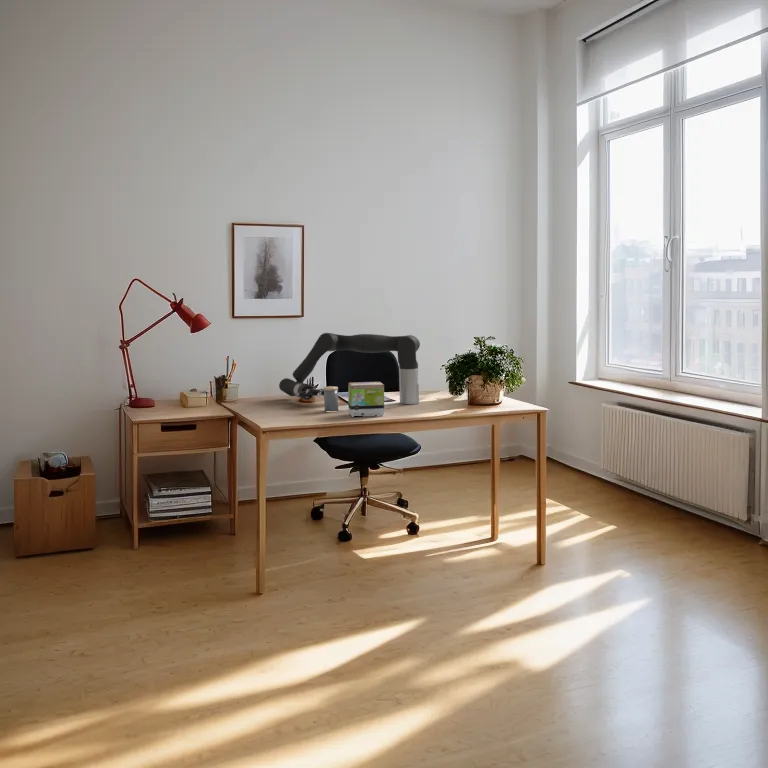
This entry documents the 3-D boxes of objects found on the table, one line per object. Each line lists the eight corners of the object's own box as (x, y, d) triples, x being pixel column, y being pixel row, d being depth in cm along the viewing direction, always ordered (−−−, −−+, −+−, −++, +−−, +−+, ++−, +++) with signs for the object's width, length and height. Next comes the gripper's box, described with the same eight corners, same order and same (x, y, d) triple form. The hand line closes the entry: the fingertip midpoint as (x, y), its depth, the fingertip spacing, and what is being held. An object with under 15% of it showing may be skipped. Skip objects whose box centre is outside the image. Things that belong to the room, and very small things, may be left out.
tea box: (351, 418, 359) (351, 385, 357) (348, 414, 369) (347, 382, 367) (384, 416, 362) (384, 383, 360) (380, 412, 372) (379, 380, 370)
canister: (338, 410, 380) (337, 386, 378) (338, 412, 373) (337, 388, 372) (324, 410, 380) (323, 386, 378) (324, 412, 373) (323, 388, 371)
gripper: (290, 384, 394) (306, 388, 380) (316, 382, 402) (332, 385, 388) (291, 400, 395) (306, 404, 381) (317, 397, 403) (332, 401, 389)
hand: (319, 395), depth 385 cm, fingers open, 8 cm apart
